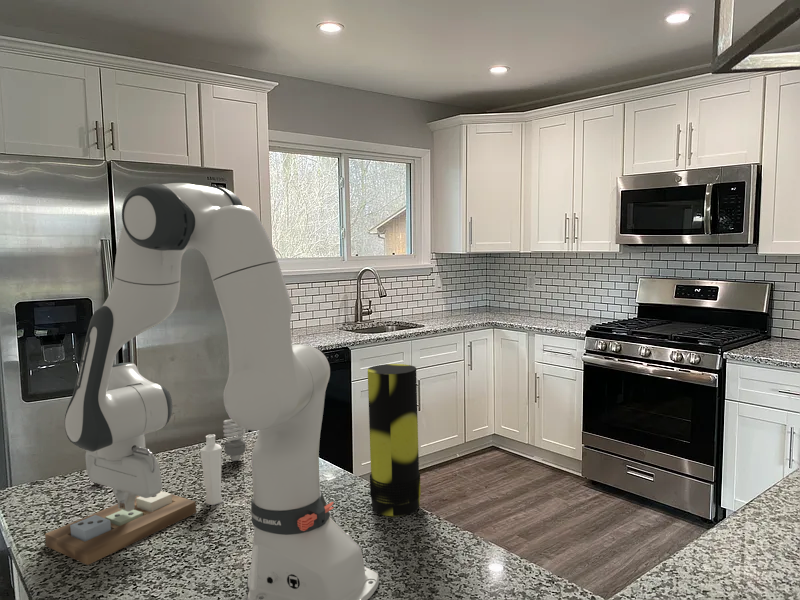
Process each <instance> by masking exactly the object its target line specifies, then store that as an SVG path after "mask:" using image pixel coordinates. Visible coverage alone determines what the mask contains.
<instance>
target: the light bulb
mask: <svg viewBox="0 0 800 600" xmlns="http://www.w3.org/2000/svg"><path fill="white" fill-rule="evenodd" d="M223 424H224V425H222V428H224V429H222V432H223V433H224V434H223V436H224V437H227V438H228V439H227V441H225V442H224V453H225V454H226V455H227V456H229V457H230V459H231V461H233V462H238V461H239V460H240V459H241V455H242V454H244V453H245V452H246V441H245V439H244V438H243V437H244V436H245V434H246V431H245V430H246V429H244V428H242V427H240V426H238V425H237V424H236V423H235V422H234V421H233V420H232V419H231V418H230V419H225V420H223Z"/></svg>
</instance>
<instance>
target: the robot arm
mask: <svg viewBox="0 0 800 600" xmlns="http://www.w3.org/2000/svg"><path fill="white" fill-rule="evenodd" d="M124 198H125V199H124V201H123V204H122V207H121V220H122V225H123V226H122V228H121V230H120V234H119V238H118V243H117V248H116V254H115V260H114V261H115V262H114V272H113V273H114V274H113V281H112V286H111V290H110V292H109V294H108V296H107V299H106V300H105V302H104V303H103V304H102V305H101V306H100V307H99V308H98V309H96V310H95V311H94V312H93V314H92V316H91V318H90V320H89V325H88V329H87V331H86V335H85V340H84V344H83V349H82V352H81V358H80V362H79V367H78V370H77V371H78V372H77V375H76V376H77V377H76V380H75V386H74V390H73V393H72V394H71V395H72V396H71V398H70V401H69V403H68V405H67V408H66V412H65V414H64V430H65V434H66V437H67V438H68V441H70V443H72V444H73V445H74V446H76V447H78V448H79V449H80V448H81V449H82V450H84V451H86V452H85V457H84V458H85V464H86V465H85V467H86V473H87V476H88V479H89V481H91V483H95V484H98V485H101V486H105V487H108V488H111V489H112V492H113V495H114V497H115V499H116V501H117V504H118V508H119V509H121V510H125V511H128V512H129V511H131V510H133V509H134V508H135V503H134V501H135V498H136V496H140V497H144V498H149V497H151V496H154V495H156V494H158V493H160V492H161V491H163V490H162V489H163V482H162V481H163V479H162V475H161V469H160V464H159V461H158V459H157V457H156V456H155V455H154V454H153V452H152V451H151V449H149V448H146V439H145V438H146V437H145V435H147V434H150V433H154V432H156V431H159V430H161V429H163V428H165V427H166V426H167V424H168V423H169V421H170V420H171V417H172V414H173V409H174V408H173V399H172V395H171V393H170V391H169V390H168V389H167V388H166V387H164V386H163V385H162V384H160V383H158V382H155V381H154V382H153V381H151V380H149V379H147V378H145V377H144V376H143V375H142V374H140V372H139V370H138V369H139V368H138V367H137V365H136V363H133V362H129V361H128V362H126V361H125V362H121V363H115V364H114V362H115V358H116V355H117V353H118V352H119V350H120V349H121V348H122V347H124V345H126V344H127V343H128V342H130V341H131V340H133V339H134V338H135V337H137V336H139V335H140V334H142V333H144V332H146V331H148V330H150V329H152V328H155V327H157V326H158V325H160V324H161V323H162V322H164V321H166V320H167V318H169V317H170V316H171V315H172V313H173V312H174V311H175V310H176V307H177V306H178V305H177V304H178V301H179V298H180V291H181V290H180V289H181V277H182V276H181V273H182V271H181V270H182V260H183V257H184V253H185V252H186V251H188V250H197V251H198V252H200V253H201V255H202V256H203V258H204V259H205V262H206V264H207V268H208V271H209V275H210V278H211V281H212V284H213V287H214V290H215V294H216V297H217V300H218V304H219V308H220V310H221V313H222V317H223V319H224V325H225V328H226V334H227V343H228V344H227V346H228V367H229V368H228V377H227V380H226V384H225V386H224V388H223V389H224V390H223V406H224V408H225V409H224V410H225V411H226V413H227V415H228V417H229V418H230V420H231V419H232V420H233V421H234V422H233V423H234V424H237V425H238V426H240V427H242V428H244V429H245V430H247V431H253V432H254V431H255V432H256V431H258V434H257V438H256V441H255V443H254V446H253V448H252V452H251V458H250V459H251V474H252V475H251V478H252V479H251V480H252V495H253V497H252V498H251V501H250V505H251V506H250V517H251V523H252V526H253V539H252V540H253V541H252V549H251V562H250V569H249V574H248V577H247V587H248V593H247V600H369V599H370V598H371V597H372V596H373V594H374V593H376V591H377V589H378V587H379V584H380V578H379V577H380V576H379V573H378V572H376V571H375V570H372V569H370V568H368V567H366V566H365V562H364V556H363V552H362V549H361V547H360V545H359V544H358V543H357V542H356V541H355V540H353V538H352V536H351V534H349V533H348V532H345V531H344V529H343V528H342V527H341V526H339V524H338V523H337V522H335V521H334V519H333V518H331V516H330V514H331V513H330V512H331V510H333V509H334V507H335V506H333V505H334V501H331V502H329V503H327V502H326V499H325V496H324V494H323V492H322V490H321V485H320V484H321V483H320V481H321V480H320V455H319V454H320V452H319V451H320V440H321V439H320V438H321V430H322V423H323V417H324V416H323V415H324V408H325V399H326V390H327V387H328V383H329V382H330V377H331V366H330V363H329V361H328V359H327V356H326V355H325V354H324V353H323V352H322V351H321V350H320V349H319V348H316V347H315V346H311V345H309V344H308V345H307V344H296V343H295V344H293V343H292V332H291V317H292V314H293V303H292V302H291V301H292V300H291V298H290V295H289V291H288V288H287V285H286V282H285V279H284V276H283V273H282V269H281V267H280V266H281V265H280V264H279V263H280V262H279V260H278V257H277V255H276V250H275V249H274V246H273V244H272V242H271V239H270V237H269V234H268V233H267V231H266V228H265V227H264V225H263V223H262V221H261V220H260V218H259V216H258V214H257V213H256V212H255V211H254V210H253V209H251V208H250V207H247V206H244V205H243V203H242V201H241V199H240V198H239V197H238V195H236V193H234V192H232V191H231V190H228V189H227V188H224V187H221V186H217V185H210V186H209V185H208V186H207V185H201V184H192V183H189V182H172V183H156V182H155V183H149V184H145V185H141V186H138V187H136V188H134V189H132V190H130V191H129V192H128V194H127V195H126V197H124Z"/></svg>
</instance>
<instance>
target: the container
mask: <svg viewBox="0 0 800 600" xmlns="http://www.w3.org/2000/svg"><path fill="white" fill-rule="evenodd" d="M417 380H418V378H417V367H416V366H414V365H411V364H406V363H405V364H404V363H403V364H402V363H387V364H386V363H385V364H378V365H373V366H370V367H368V368H367V389H368V390H367V393H368V422H369V423H368V424H369V426H368V429H369V451H370V456H369V458H370V474H369V491H370V494H369V495H370V498H371V507H372V509H373V511H374V512H376V513H377V514H379V515H382V516H385V517H405V516H407V515H411V514H413V513H414V512H416V511H417V510H419V508H420V506H421V505H420V504H421V501H420V500H421V496H422V495H421V494H422V493H421V492H422V491H421V489H422V488H421V474H420V473H421V472H420V463H419V462H420V461H419V460H420V458H419V425H418V424H419V423H418V422H419V421H418V420H419V418H418V386H417V385H418V384H417V382H418V381H417Z"/></svg>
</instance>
